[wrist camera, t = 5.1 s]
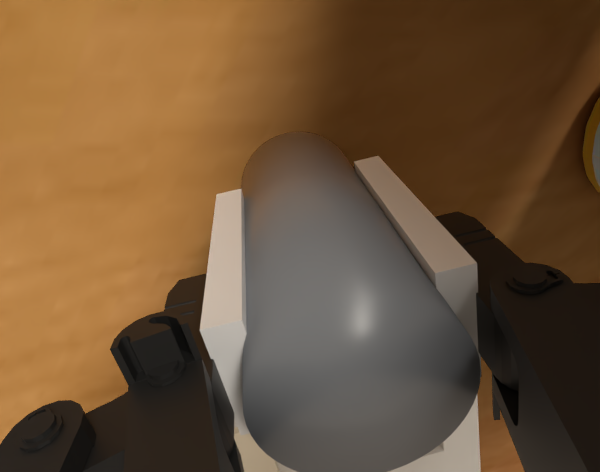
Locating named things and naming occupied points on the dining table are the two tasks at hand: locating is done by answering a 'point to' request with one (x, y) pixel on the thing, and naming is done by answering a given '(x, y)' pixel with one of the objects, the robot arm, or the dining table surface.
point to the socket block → (429, 468)
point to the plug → (341, 322)
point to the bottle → (593, 147)
